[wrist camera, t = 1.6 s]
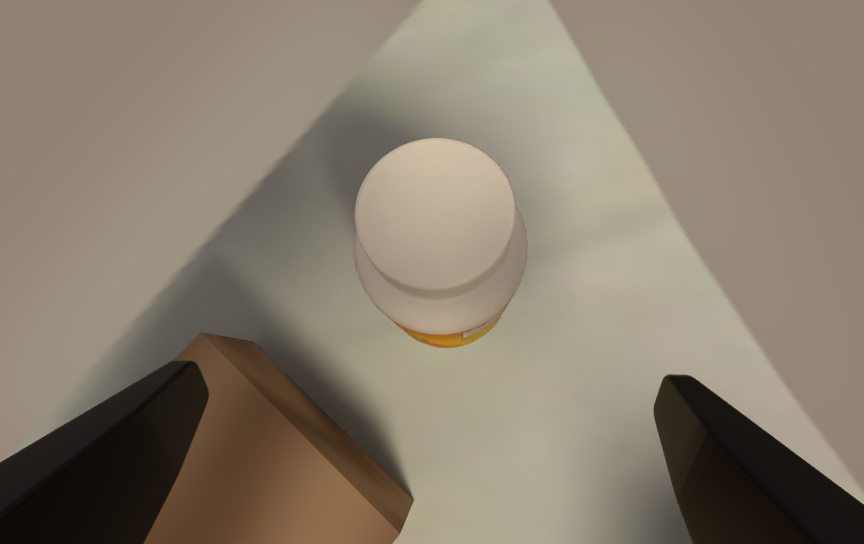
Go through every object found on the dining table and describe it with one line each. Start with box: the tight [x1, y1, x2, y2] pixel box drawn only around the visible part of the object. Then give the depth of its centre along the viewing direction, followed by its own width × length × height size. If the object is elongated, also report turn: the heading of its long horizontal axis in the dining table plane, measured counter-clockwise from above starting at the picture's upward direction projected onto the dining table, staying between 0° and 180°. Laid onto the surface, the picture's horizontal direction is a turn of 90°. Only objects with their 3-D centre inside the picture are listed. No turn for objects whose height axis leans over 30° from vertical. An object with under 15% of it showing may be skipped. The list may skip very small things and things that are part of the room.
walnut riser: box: [144, 332, 414, 544], centre depth 16 cm, size 10×10×4 cm
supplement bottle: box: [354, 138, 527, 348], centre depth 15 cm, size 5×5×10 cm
